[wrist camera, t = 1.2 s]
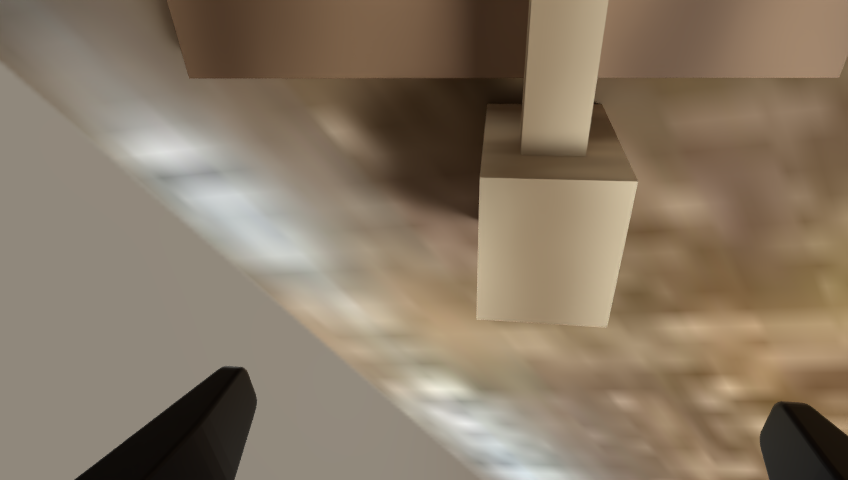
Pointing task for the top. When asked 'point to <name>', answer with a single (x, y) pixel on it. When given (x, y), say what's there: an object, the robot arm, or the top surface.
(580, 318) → the gauge
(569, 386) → the top surface
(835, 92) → the top surface
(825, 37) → the board
